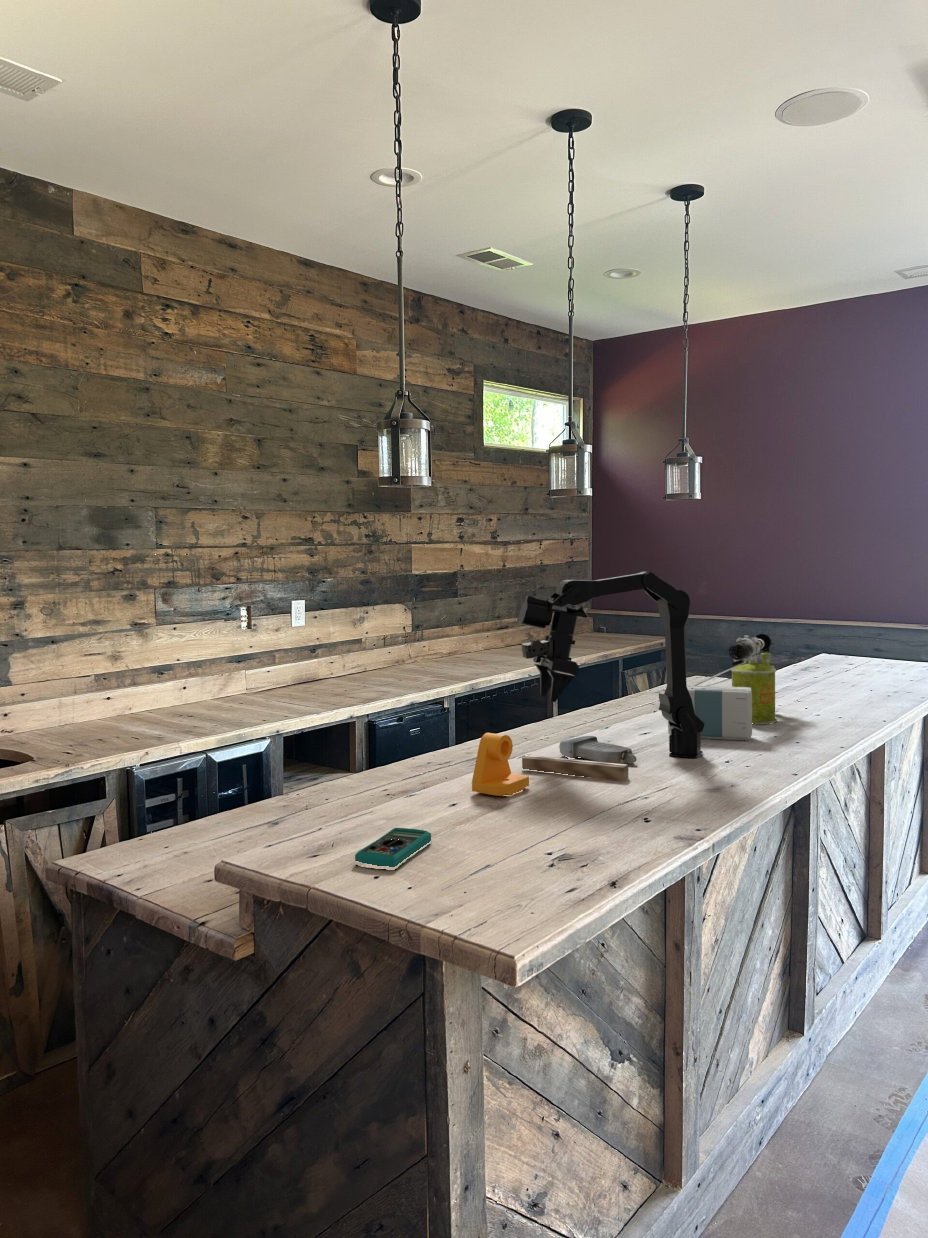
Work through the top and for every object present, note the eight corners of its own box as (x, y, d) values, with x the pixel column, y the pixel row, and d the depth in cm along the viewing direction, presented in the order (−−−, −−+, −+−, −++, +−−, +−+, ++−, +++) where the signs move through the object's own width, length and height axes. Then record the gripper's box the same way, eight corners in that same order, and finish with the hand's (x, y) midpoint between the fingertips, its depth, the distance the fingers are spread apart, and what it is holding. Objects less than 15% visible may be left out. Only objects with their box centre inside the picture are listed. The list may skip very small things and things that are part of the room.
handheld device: (624, 770, 205) (623, 750, 204) (555, 758, 219) (554, 739, 219) (648, 763, 211) (648, 743, 211) (580, 752, 226) (579, 733, 225)
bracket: (500, 800, 182) (499, 741, 181) (472, 795, 186) (470, 737, 185) (531, 788, 190) (529, 732, 189) (503, 784, 195) (502, 728, 194)
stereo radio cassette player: (667, 738, 238) (666, 662, 236) (672, 732, 245) (671, 659, 244) (751, 743, 230) (750, 664, 228) (753, 736, 237) (753, 660, 236)
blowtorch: (790, 713, 270) (790, 629, 268) (761, 732, 242) (761, 639, 240) (745, 710, 277) (745, 628, 275) (712, 728, 249) (712, 637, 247)
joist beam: (628, 778, 196) (628, 763, 196) (623, 781, 194) (623, 766, 194) (528, 768, 208) (527, 754, 208) (522, 770, 206) (522, 756, 205)
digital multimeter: (352, 870, 144) (351, 852, 144) (394, 841, 158) (393, 825, 158) (393, 875, 141) (393, 857, 141) (432, 846, 155) (432, 829, 155)
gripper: (519, 623, 218) (506, 686, 219) (538, 629, 200) (523, 698, 200) (563, 632, 220) (550, 695, 221) (586, 639, 202) (571, 707, 202)
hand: (547, 698), depth 211 cm, fingers open, 9 cm apart
